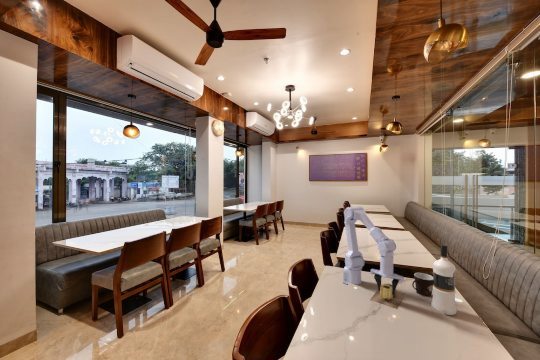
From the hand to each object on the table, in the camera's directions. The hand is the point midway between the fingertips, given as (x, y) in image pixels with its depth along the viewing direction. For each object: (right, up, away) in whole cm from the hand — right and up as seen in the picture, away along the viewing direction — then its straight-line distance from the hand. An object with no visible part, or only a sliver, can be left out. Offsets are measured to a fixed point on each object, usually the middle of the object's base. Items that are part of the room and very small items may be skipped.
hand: (386, 291), depth 113 cm
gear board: (+2, -5, +2) cm, 6 cm away
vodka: (+23, -5, -7) cm, 24 cm away
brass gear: (0, -2, 0) cm, 2 cm away
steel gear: (+4, -4, +4) cm, 7 cm away
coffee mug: (+21, -5, +6) cm, 22 cm away
